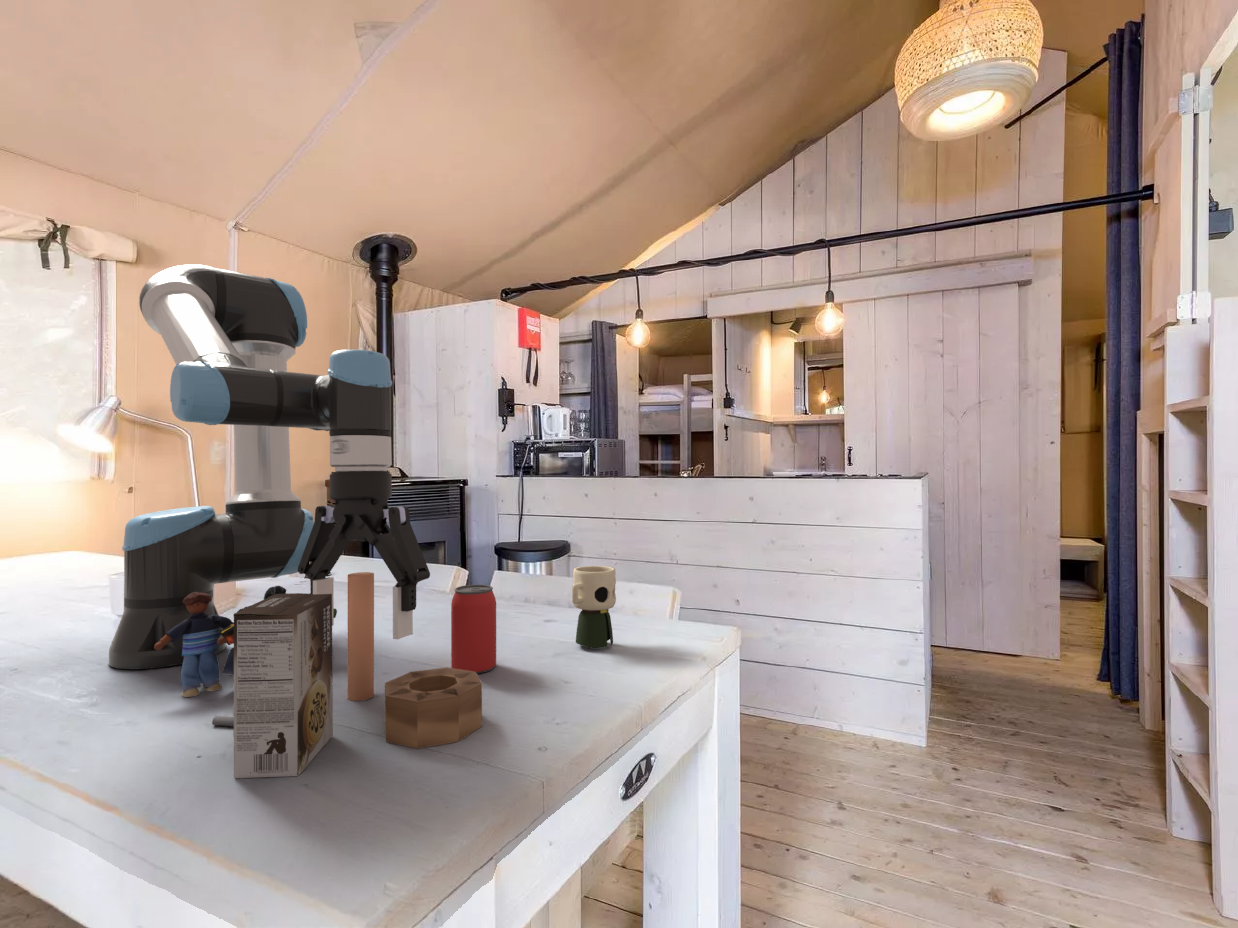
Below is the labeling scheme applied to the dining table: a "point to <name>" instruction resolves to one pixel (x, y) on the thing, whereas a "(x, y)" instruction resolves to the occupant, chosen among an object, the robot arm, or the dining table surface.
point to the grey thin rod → (223, 721)
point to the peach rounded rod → (360, 636)
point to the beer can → (473, 628)
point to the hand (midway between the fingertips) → (361, 632)
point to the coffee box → (282, 684)
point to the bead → (432, 707)
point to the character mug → (594, 604)
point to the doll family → (205, 643)
